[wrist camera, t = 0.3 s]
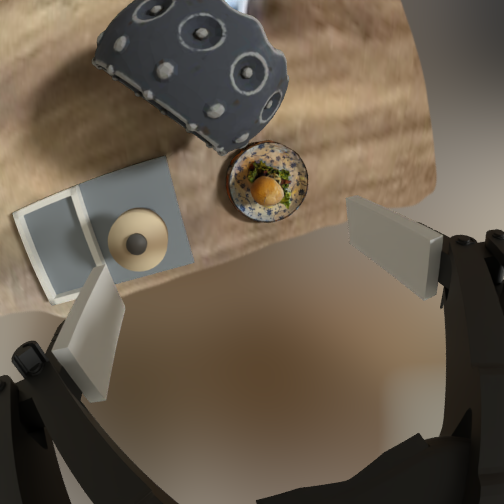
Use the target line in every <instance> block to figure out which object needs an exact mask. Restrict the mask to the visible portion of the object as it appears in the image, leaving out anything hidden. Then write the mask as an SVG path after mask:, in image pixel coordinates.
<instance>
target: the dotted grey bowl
mask: <svg viewBox="0 0 504 504" xmlns="http://www.w3.org/2000/svg"><path fill="white" fill-rule="evenodd" d="M92 64H93V65H94V66H96V68H97V69H99V70H100V69H103V70H104V71H105V72H107V73H108V74H109V75H111V76H112V79H113V80H115V81H117V80H118V81H119V82H121V83H122V84H124V85H125V86H127V87H128V88H129V89H131V90H132V91H134V92H135V96H139V97H142V98H143V99H145V100H146V101H148V102H149V103H151V104H152V105H153V106H155V107H156V108H157V109H159V110H160V112H161V113H162V114H163V115H167V116H169V117H170V118H171V119H173V120H174V121H176V122H177V123H178V124H180V125H181V126H183V127H184V128H185V129H186V131H187V132H188V133H192V134H194V135H196V136H197V137H198V138H199V139H201V140H202V141H204V142H205V143H206V146H207V147H208V148H213V149H214V150H215V151H217V153H218V154H219V155H220V156H225V155H226V154H227V153H228V152H230V151H232V150H234V149H242V148H244V147H246V145H247V144H248V142H249V140H250V139H252V138H253V137H254V136H256V135H257V134H258V133H259V132H260V131H261V130H262V129H263V128H264V127H265V126H266V125H267V124H268V122H269V121H270V120H271V119H272V118H273V116H274V115H275V113H276V112H277V110H278V108H279V107H280V105H281V103H282V101H283V99H284V96H285V93H286V90H287V87H288V82H289V76H288V75H287V65H286V58H285V56H284V54H283V52H282V51H281V50H278V49H275V48H274V47H273V46H272V45H271V44H270V43H269V41H268V39H267V37H266V34H265V32H264V29H263V27H262V25H261V24H260V22H259V21H258V20H257V19H256V18H254V17H253V16H250V15H247V14H244V13H241V12H239V11H237V10H235V9H233V8H232V7H230V6H229V5H228V4H227V3H226V2H225V0H134V1H133V2H132V3H130V4H129V5H128V6H127V7H126V8H125V9H123V10H122V11H121V12H120V13H119V14H118V15H117V16H116V17H115V18H114V19H113V20H112V22H111V23H110V24H109V26H108V27H107V29H106V30H105V31H104V32H102V33H101V34H100V35H99V36H98V38H97V49H96V53H95V57H94V58H93V59H92Z"/></svg>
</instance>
